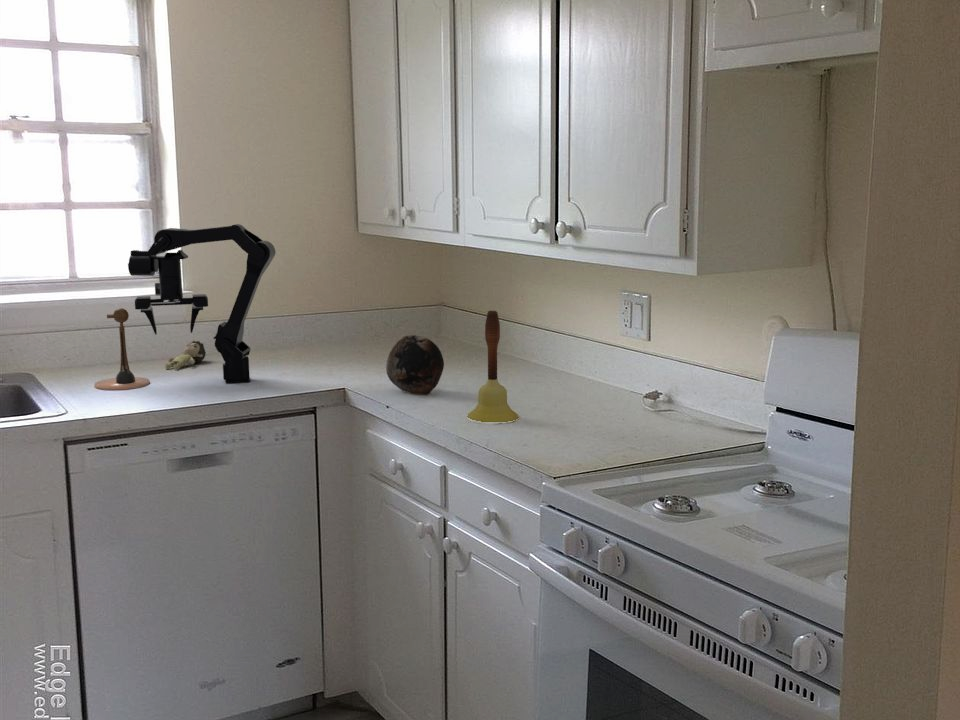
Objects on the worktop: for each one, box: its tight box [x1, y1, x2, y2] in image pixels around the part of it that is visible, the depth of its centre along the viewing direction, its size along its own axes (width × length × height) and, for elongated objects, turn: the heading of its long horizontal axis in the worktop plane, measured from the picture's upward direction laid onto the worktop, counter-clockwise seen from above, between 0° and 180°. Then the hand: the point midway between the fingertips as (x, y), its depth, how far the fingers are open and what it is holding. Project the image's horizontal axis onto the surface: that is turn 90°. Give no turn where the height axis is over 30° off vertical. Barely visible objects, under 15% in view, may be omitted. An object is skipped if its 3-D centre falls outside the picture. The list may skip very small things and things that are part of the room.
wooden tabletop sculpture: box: [106, 307, 136, 384], centre depth 275 cm, size 6×5×20 cm
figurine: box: [164, 340, 207, 371], centre depth 302 cm, size 8×6×15 cm
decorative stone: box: [385, 334, 445, 395], centre depth 265 cm, size 18×9×15 cm, turn 53°
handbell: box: [466, 310, 520, 422], centre depth 237 cm, size 12×12×25 cm
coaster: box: [94, 376, 150, 391], centre depth 277 cm, size 14×14×1 cm
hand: (173, 333), depth 279 cm, fingers open, 9 cm apart
